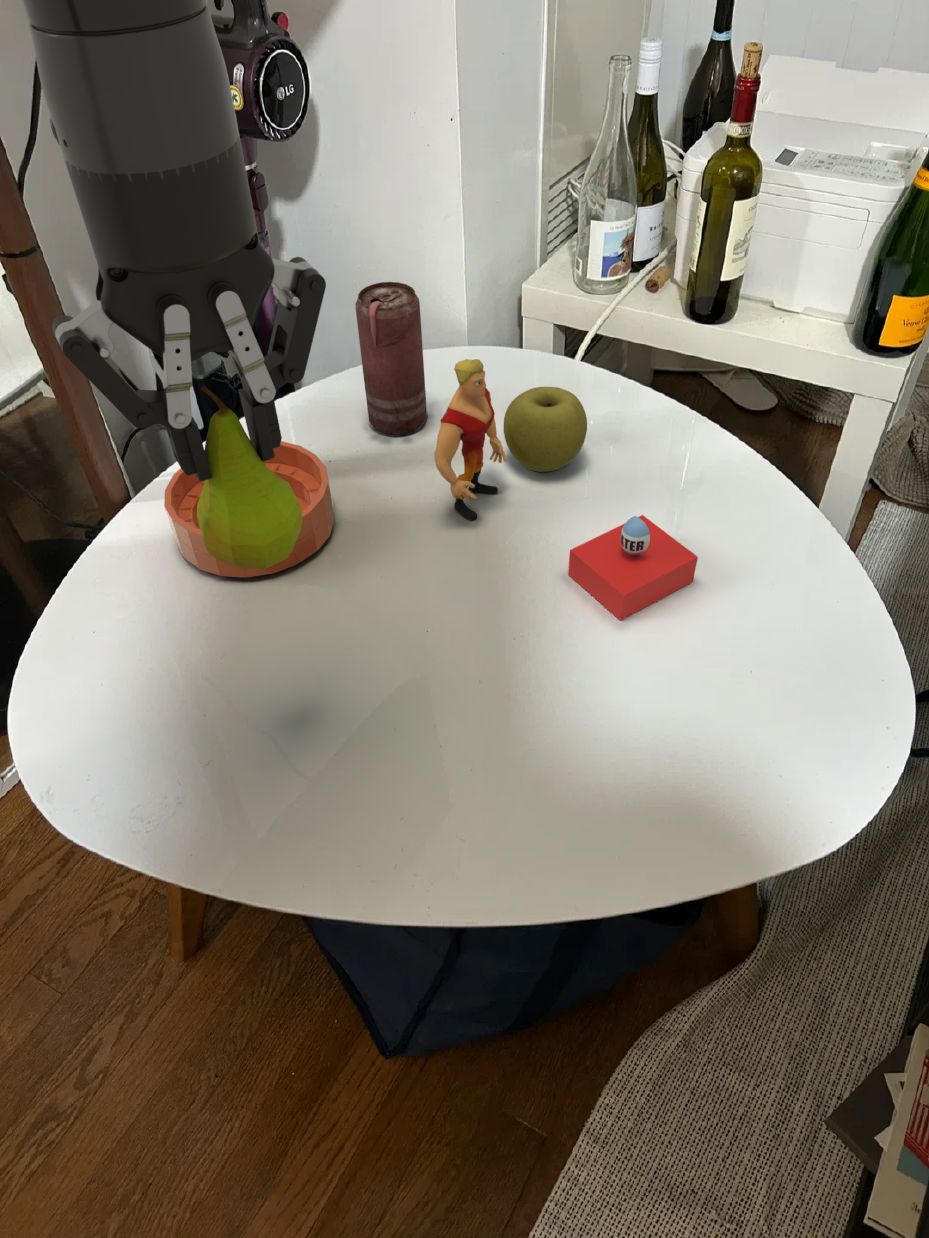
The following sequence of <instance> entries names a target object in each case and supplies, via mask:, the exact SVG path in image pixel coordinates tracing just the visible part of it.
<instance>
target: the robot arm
mask: <svg viewBox="0 0 929 1238" xmlns="http://www.w3.org/2000/svg"><path fill="white" fill-rule="evenodd" d="M20 2H21V5H22V9H23V12H24V15H25V18H26V21H27V22H28V29H29V32H30V36H31V40H32V44H33V45H32V46H33V49H34V55H35V60H36V66H37V71H38V76H39V81H40V86H41V89H42V94H43V95H44V100H45V103H46V106H47V110H48V113H49V123H50V128H51V132H52V134H53V137H54V139H55V140H56V142H57V144H58V145H59V147H60V150H61V154H62V157H63V160H64V163H65V167H66V169H67V172H68V175H69V179H70V181H71V185H72V188H73V191H74V194H75V198H76V201H77V204H78V207H79V209H80V210H79V211H80V213H81V216H82V219H83V222H84V225H85V229H86V232H87V236H88V239H89V241H90V245H91V248H92V251H93V254H94V257H95V261H96V263H97V269H98V275H97V282H96V285H95V298H96V300H95V301H94V302H92V303H91V304H90V305H89V306H87V307H86V308H85V309H83V310H82V311H80V312H79V313H78V314H76V315H75V316H74V317H73V316H71V315H68V314H67V315H66V314H63V315H59V316H56V318H54V319H53V321H52V324H51V329H52V332H53V334H54V336H55V338H56V340H57V342H58V344H59V346H60V348H61V350H62V352H63V354H64V356H65V357H66V358H67V359H68V360H69V361H70V362H71V363H72V364H73V365H74V366H75V368H76V369H78V370H79V371H80V372H81V374H83V375H84V376H85V378H86V379H87V380H89V382H90V383H91V384H92V385H93V386H94V387H95V388H96V389H97V390H98V391H99V392H100V393H101V394H102V395H103V396H104V397H105V398H106V399H107V400H108V401H109V402H110V403H111V404H112V405H113V407H115V408H116V409H117V410H118V411H119V412H120V413H121V415H123V416H124V418H125V419H126V420H127V421H128V422H129V423H131V425H132V426H133V427H135V428H137V429H146V428H149V427H150V426H151V425H161V426H164V427H165V431H166V433H167V437H168V440H169V444H170V447H171V451H172V453H173V456H174V458H175V460H176V462H177V464H178V466H179V467H180V468H181V469H182V470H183V471H184V472H185V474H186V475H187V476H189V475H192V474H195V476H196V478H197V479H198V481H199V482H202V481H205V480H208V479H211V478H212V476H211V472H210V469H209V465H208V461H207V458H206V454H205V446H204V444H203V440H202V435H201V431H200V429H199V425H198V423H197V422H196V420H195V418H194V417H193V415H192V414H193V413H192V400H191V388H192V387H193V372H192V362H194V361H196V360H198V359H200V358H202V357H203V356H205V355H206V354H209V353H226V352H227V353H228V356H229V357H230V360H231V361H232V364H233V366H234V368H235V370H236V372H237V374H238V377H239V379H240V381H241V385H242V388H239V389H238V394H239V398H240V402H241V406H242V411H243V415H244V420H245V424H246V428H247V433H248V437H249V439H250V441H251V443H252V444H253V446H254V448H255V449H256V451H257V453H258V455H259V456H260V458H261V460H262V462H264V461H267V460H270V459H273V458H275V454H274V449H273V448H276V447H280V444H281V441H282V439H283V438H282V433H281V428H280V422H279V417H278V412H277V407H276V403H275V397H276V394H277V392H278V391H279V390H280V389H281V388H282V387H284V386H286V384H292V385H294V384H295V385H296V384H298V383H299V382H301V381H302V380H303V379H304V377H305V374H306V370H307V366H308V362H309V357H310V353H311V348H312V346H313V341H314V338H315V333H316V329H317V324H318V321H319V317H320V312H321V308H322V304H323V300H324V296H325V292H326V287H327V283H326V282H327V281H326V279H325V278H324V277H323V275H322V274H321V273H320V272H319V271H318V270H317V269H316V268H315V267H314V266H313V265H312V264H311V263H310V262H308V261H307V260H306V259H305V258H303V257H302V256H295V257H292V258H291V259H290V260H289V261H288V260H282V259H276V258H272V257H271V255H270V253H268V251H267V250H266V249H265V248H264V246H263V244H262V242H261V241H260V238H259V233H258V227H257V222H256V216H255V211H254V206H253V200H252V199H253V198H252V195H251V189H250V183H249V180H248V179H249V178H248V174H247V167H246V162H245V159H244V158H245V157H244V153H243V152H244V151H243V147H242V142H241V137H240V132H239V127H238V126H239V125H238V120H237V114H236V109H235V105H234V99H233V94H232V89H231V84H230V79H229V74H228V70H227V69H228V68H227V65H226V61H225V58H224V54H223V51H222V47H221V45H220V42H219V39H218V36H217V32H216V29H215V25H214V23H213V19H212V14H211V9H210V6H209V4H208V0H20ZM271 285H273V287H272V291H273V295H274V297H275V299H276V300H277V301H278V305H277V308H276V314H275V318H274V323H273V328H272V331H271V337H270V341H269V344H268V345H269V346H268V351H267V354H266V355H265V356H264V355H263V352H262V350H261V347H260V346H259V343H258V340H257V338H256V336H255V332H254V331H253V326H254V324H255V322H256V319H257V317H258V315H259V313H260V310H261V307H262V305H263V303H264V301H265V299H266V297H267V295H268V291H269V290H270V287H271ZM113 324H114V325H116V326H118V327H120V329H122V330H123V331H125V333H127V334H129V335H130V336H131V337H133V338H134V339H135V340H137V341H138V342H139V343H141V344H142V345H143V346H145V347H146V348H148V355H149V356H148V357H149V362H150V365H151V368H152V374H153V386H154V389H140V388H139V387H138V386H137V385H136V383H135V382H134V381H133V379H131V378H130V377H129V376H128V374H126V373H125V371H123V369H122V368H121V367H120V366H119V365H118V364H117V363H116V362H115V360H113V359H112V358H111V357H110V356H112V354H113V353H114V350H115V344H114V342H113V339H112V338H111V336H110V329H111V327H112V326H113Z"/></svg>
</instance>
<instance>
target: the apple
mask: <svg viewBox="0 0 929 1238" xmlns="http://www.w3.org/2000/svg"><path fill="white" fill-rule="evenodd" d="M587 432H588V417H587V413H586V409H585V408H584V406H583V404H582V402H581V400H580V399H579V398H578V397H577V396H576V395H575V394H574V393H572V392H571V391H569V390H567V389H564V388H560V387H557V386H538V387H532V388H530V389H528V390H525V391H523V392H522V393H519V394H518V395H517V396H516V397H515V398H514V399H513V400H511V402H510V404H509V405H508V407H507V409H506V411H505V413H504V417H503V436H504V440H505V443H506V446H507V448H508V450H509V452H510V454H511V455H512V457H513V458H514V459H515V460H516V461H517V462H518V464H520V465H521V466H523V467H524V468H526V469H528V470H531V471H534V472H539V473H541V472H542V473H545V472H546V473H547V472H552V471H555V470H558V469H561V468H563V467H565V466H567V465H568V464H569V463H571V462H572V461H573V460H574V459H575V458H576V457H577V455H578V454H579V453H580V451H581V449H582V448H583V446H584V443H585V440H586V437H587Z"/></svg>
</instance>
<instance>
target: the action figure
mask: <svg viewBox="0 0 929 1238" xmlns="http://www.w3.org/2000/svg"><path fill="white" fill-rule="evenodd" d="M453 369H454V370H453V371H454V372H455V375H456V379H457V382H458V385H459V386H458V387H457V389H456V390H455V392H454V394H453V396H452V398H451V400H450V402H449V403H448V406H447V408H446V412H445V413H444V414H443V416H442V417H441V419H440V420H439V421H440V424H439V429H438V430H439V431H438V434H437V439H436V447H435V450H434V453H433V458H434V463H435V467H436V469H437V470H438V472H439V475H441V476H442V478H443V479H444V480H445V481H446V482H448V483H449V484H450V485H449V486H450V493H451V495H452V497H453V498H454V499H455V502H454V505H453V508H454V510H455V511H456V512H458V514H459V515H461V516H462V517H463V518H465V519H467V520H468V521H473V520H476V519H477V518H478V513H477V512H476V511H475V510H473V509H472V508H470V507H469V506H468V505H467V504H466V503H465V502H464V500H466V501H467V502H469V501H471V499H473V500H476V499H477V496H476V495H475V494H474V493H475V492H483V493H487V494H497V493H498V492H499V488H498V487H497V486H495V485H490V484H489V485H488V484H484V483H481V482H479V478H480V475H481V472H482V468H483V467H484V461H483V460H484V447H485V446H484V445H485V441H486V436H487V437H488V438H489V441H488V442H489V444H490V446H491V449H492V452H491V455H490V457H489V460H490V461H492V460H493V463H496V462H497V459H498V464H501V463H502V462H504V463H506V462H508V459H507V455H506V453H505V451H504V447H503V445H502V442H501V440H500V439H499V437H498V436H497V435H498V431H497V425H496V420H495V410H494V407H493V405H492V396H491V393H490V391H489V390H488V388H487V383H486V379H485V378H486V371H485V370H484V363H483V362H482V361H481V360H480V359H477V358H474V359H467V358H465V359H463V360H460V361H458V362H457V363H455V365H454V367H453ZM461 442H462V443H461ZM460 443H461V444H462V445H461V456H462V458H463V466H464V467H463V468H464V469H463V470H464V472H463V473H461V474H459V475H458V476H457V475H456V472H455V471H454V469H453V467H452V461H453V459H454V457H455V455H456V453H457V451H458V449H459V446H460Z"/></svg>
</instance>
